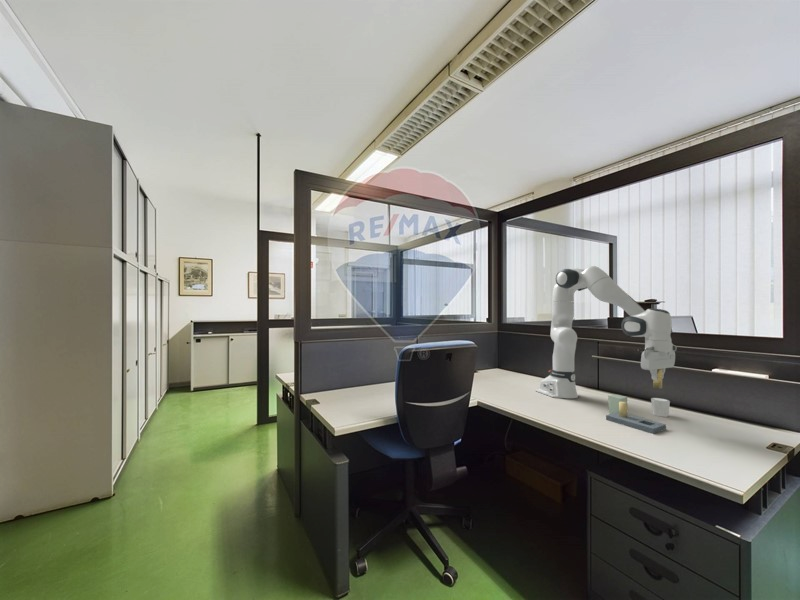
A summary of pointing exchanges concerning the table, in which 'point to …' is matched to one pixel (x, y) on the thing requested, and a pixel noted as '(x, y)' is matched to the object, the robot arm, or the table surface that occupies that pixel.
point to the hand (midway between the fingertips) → (657, 379)
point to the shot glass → (660, 407)
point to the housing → (615, 402)
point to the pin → (658, 382)
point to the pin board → (634, 420)
